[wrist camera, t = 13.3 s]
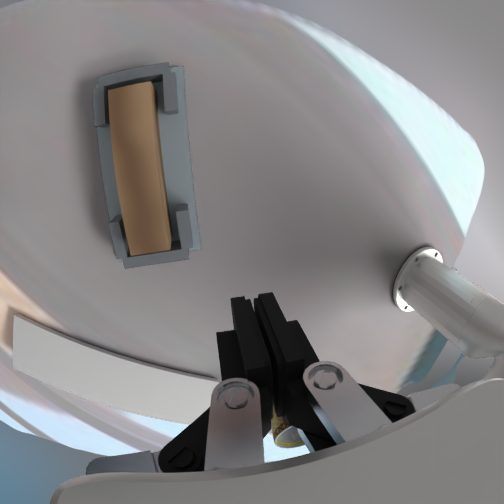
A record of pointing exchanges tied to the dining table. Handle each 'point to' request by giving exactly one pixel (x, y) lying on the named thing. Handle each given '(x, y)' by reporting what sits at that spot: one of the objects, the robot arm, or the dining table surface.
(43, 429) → the dining table surface
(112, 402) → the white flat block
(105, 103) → the board
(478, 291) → the robot arm
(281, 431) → the ceramic cup
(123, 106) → the slat
